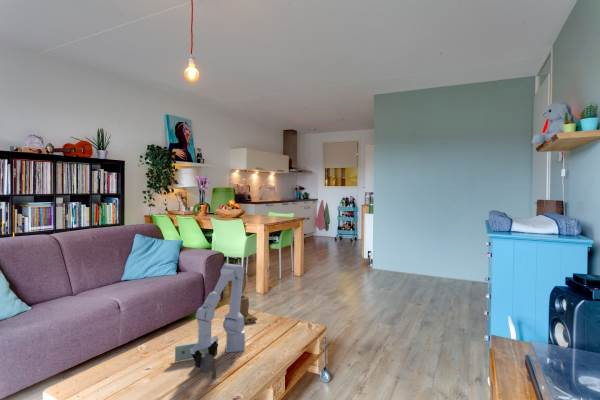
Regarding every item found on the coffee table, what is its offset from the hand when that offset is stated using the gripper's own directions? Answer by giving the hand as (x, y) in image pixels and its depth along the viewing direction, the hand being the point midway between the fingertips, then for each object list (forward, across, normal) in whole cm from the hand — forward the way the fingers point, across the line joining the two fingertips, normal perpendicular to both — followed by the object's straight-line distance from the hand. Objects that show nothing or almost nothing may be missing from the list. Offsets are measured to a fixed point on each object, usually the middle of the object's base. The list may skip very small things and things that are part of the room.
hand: (204, 362), depth 149 cm
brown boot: (+3, -51, -23) cm, 56 cm away
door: (+2, -4, -10) cm, 11 cm away
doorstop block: (+2, 0, 0) cm, 3 cm away
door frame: (+2, -5, +2) cm, 5 cm away
